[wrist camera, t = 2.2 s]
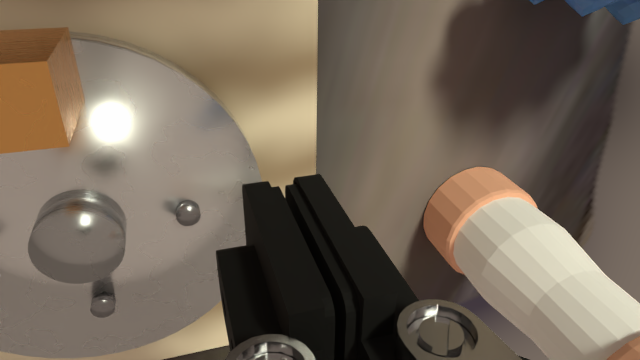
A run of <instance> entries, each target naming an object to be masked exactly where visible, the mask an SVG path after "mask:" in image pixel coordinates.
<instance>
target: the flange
mask: <svg viewBox="0 0 640 360" xmlns="http://www.w3.org/2000/svg"><path fill="white" fill-rule="evenodd" d="M257 182H262V180H261V176H260V173H259V169H258V166H257V162H256V159H255V157H254V155H253V152H252V150H251V147H250V145H249V143H248V141H247V139H246V136H245V134H244V132H243V130H242V128H241V127H240V125H239V124H238V122H237V121H236V119H235V118H234V116H233V114H232V113H231V112H230V110H229V109H228V108H227V107H226V106H225V105H224V103H223V102H222V101H221V100H220V99H219V98H218V96H217V95H216V94H215V93H213V92H212V91H211V90H210V89H209V88H208V87H207V86H206V85H205V84H203V83H202V82H201V81H200V80H199V79H198V78H196V77H195V76H193V75H192V74H190V73H189V72H187V71H186V70H185V69H183V68H182V67H180V66H179V65H177V64H175V63H173V62H172V61H170V60H168V59H166V58H164V57H162V56H160V55H158V54H156V53H154V52H152V51H149V50H147V49H144V48H141V47H139V46H136V45H134V44H131V43H128V42H125V41H121V40H117V39H113V38H109V37H105V36H101V35H95V34H87V33H79V32H72V31H69V29H68V27H61V28H40V29H18V30H0V351H1V352H6V353H12V354H17V355H23V356H31V357H42V358H83V357H96V356H102V355H108V354H114V353H119V352H123V351H127V350H131V349H135V348H139V347H141V346H144V345H147V344H150V343H153V342H156V341H158V340H161V339H163V338H165V337H167V336H169V335H171V334H174V333H176V332H178V331H180V330H181V329H183V328H185V327H186V326H188V325H190V324H192V323H193V322H195V321H196V320H198V319H199V318H200V317H202V316H203V315H204V314H206V313H207V312H209V311H210V310H211V309H212V308H213V307H214V306H216V305H217V304H218V303H219V302H220V301H221V294H220V287H219V278H218V270H217V261H216V250H221V249H227V248H233V247H239V246H245V245H246V235H245V222H244V209H243V196H242V185H243V184H249V183H257Z"/></svg>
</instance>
